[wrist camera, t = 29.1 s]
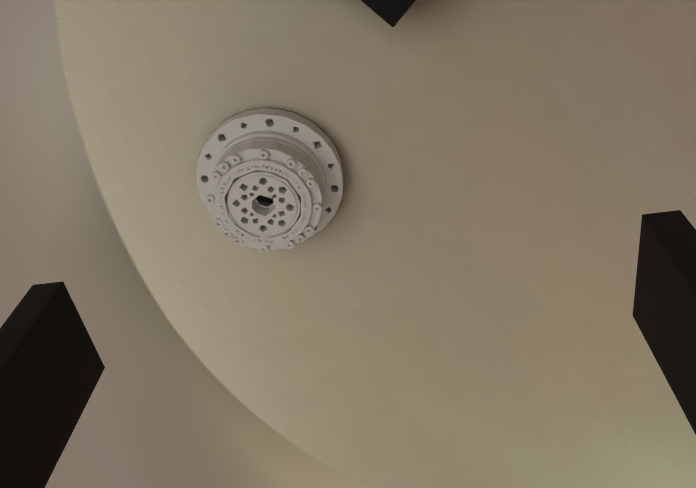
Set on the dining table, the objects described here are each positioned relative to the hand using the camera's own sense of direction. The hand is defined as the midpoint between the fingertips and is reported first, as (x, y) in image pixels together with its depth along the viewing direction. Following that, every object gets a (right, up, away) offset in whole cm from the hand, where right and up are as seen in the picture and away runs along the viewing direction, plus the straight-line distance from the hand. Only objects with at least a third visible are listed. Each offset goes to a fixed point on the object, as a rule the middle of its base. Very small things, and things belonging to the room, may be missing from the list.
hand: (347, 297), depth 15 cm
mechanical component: (-5, +6, +30) cm, 31 cm away
